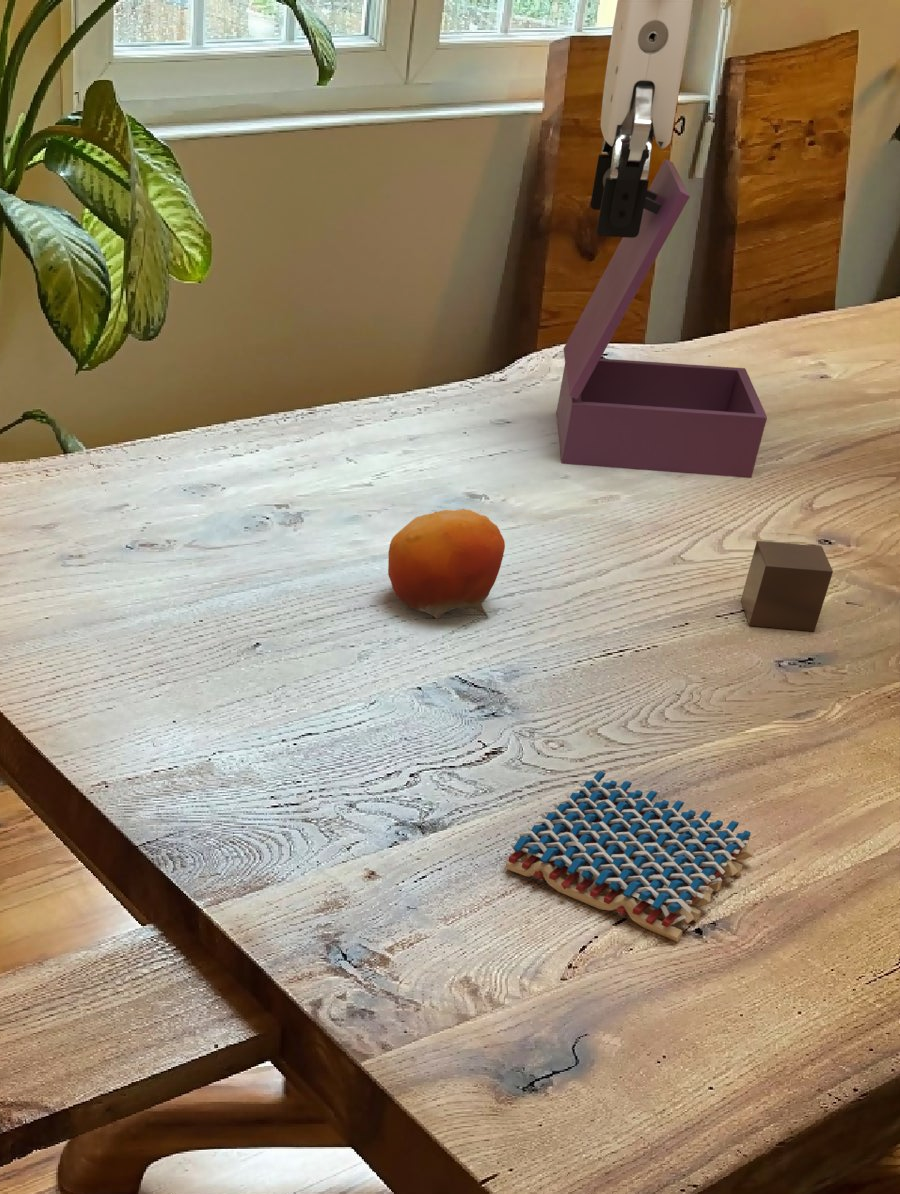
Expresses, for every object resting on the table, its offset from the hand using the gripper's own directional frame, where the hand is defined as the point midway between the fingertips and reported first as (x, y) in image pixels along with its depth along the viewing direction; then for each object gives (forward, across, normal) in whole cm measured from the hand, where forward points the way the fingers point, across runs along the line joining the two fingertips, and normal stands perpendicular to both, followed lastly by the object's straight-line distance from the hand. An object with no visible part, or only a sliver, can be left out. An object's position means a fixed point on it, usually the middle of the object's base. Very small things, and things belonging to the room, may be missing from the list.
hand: (612, 222), depth 119 cm
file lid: (+4, 0, -2) cm, 5 cm away
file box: (+19, 0, -6) cm, 20 cm away
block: (+19, -30, -14) cm, 38 cm away
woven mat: (+19, -65, 0) cm, 68 cm away
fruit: (+19, -33, +10) cm, 40 cm away
